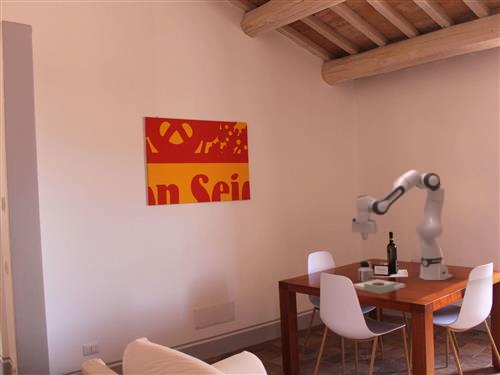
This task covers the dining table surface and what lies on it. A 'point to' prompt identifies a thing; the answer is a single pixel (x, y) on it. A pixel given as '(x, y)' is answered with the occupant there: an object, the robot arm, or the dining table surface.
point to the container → (365, 272)
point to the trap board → (382, 289)
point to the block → (378, 284)
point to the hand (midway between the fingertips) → (365, 239)
